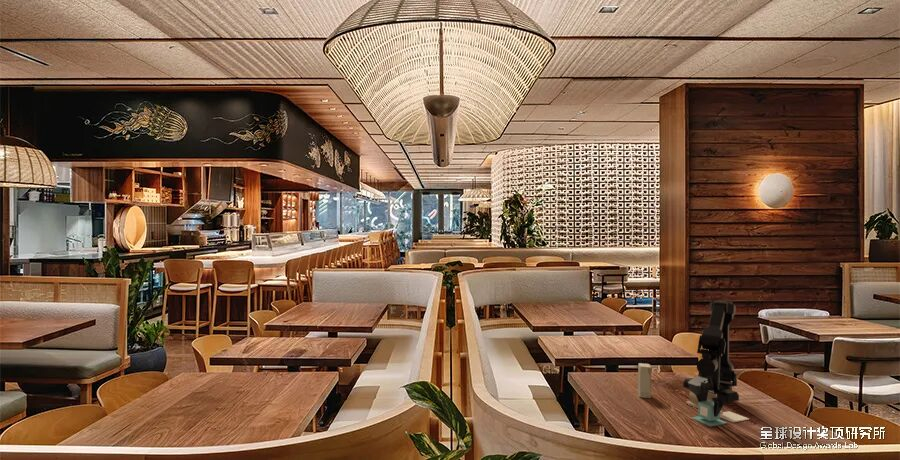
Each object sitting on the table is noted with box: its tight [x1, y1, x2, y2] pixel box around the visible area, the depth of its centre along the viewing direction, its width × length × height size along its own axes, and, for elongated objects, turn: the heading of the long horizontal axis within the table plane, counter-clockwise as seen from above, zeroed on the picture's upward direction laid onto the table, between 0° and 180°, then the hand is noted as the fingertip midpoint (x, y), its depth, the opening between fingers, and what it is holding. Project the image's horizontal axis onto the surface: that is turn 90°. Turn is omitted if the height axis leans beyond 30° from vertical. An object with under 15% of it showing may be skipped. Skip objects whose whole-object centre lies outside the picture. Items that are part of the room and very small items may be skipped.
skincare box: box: [637, 362, 652, 399], centre depth 220 cm, size 6×4×12 cm
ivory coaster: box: [720, 410, 750, 423], centre depth 197 cm, size 8×8×1 cm
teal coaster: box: [691, 415, 728, 427], centre depth 193 cm, size 8×8×1 cm
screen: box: [685, 390, 724, 413], centre depth 205 cm, size 4×13×8 cm, turn 24°
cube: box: [697, 400, 721, 421], centre depth 193 cm, size 5×5×5 cm
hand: (709, 413), depth 193 cm, fingers closed on cube, 5 cm apart
